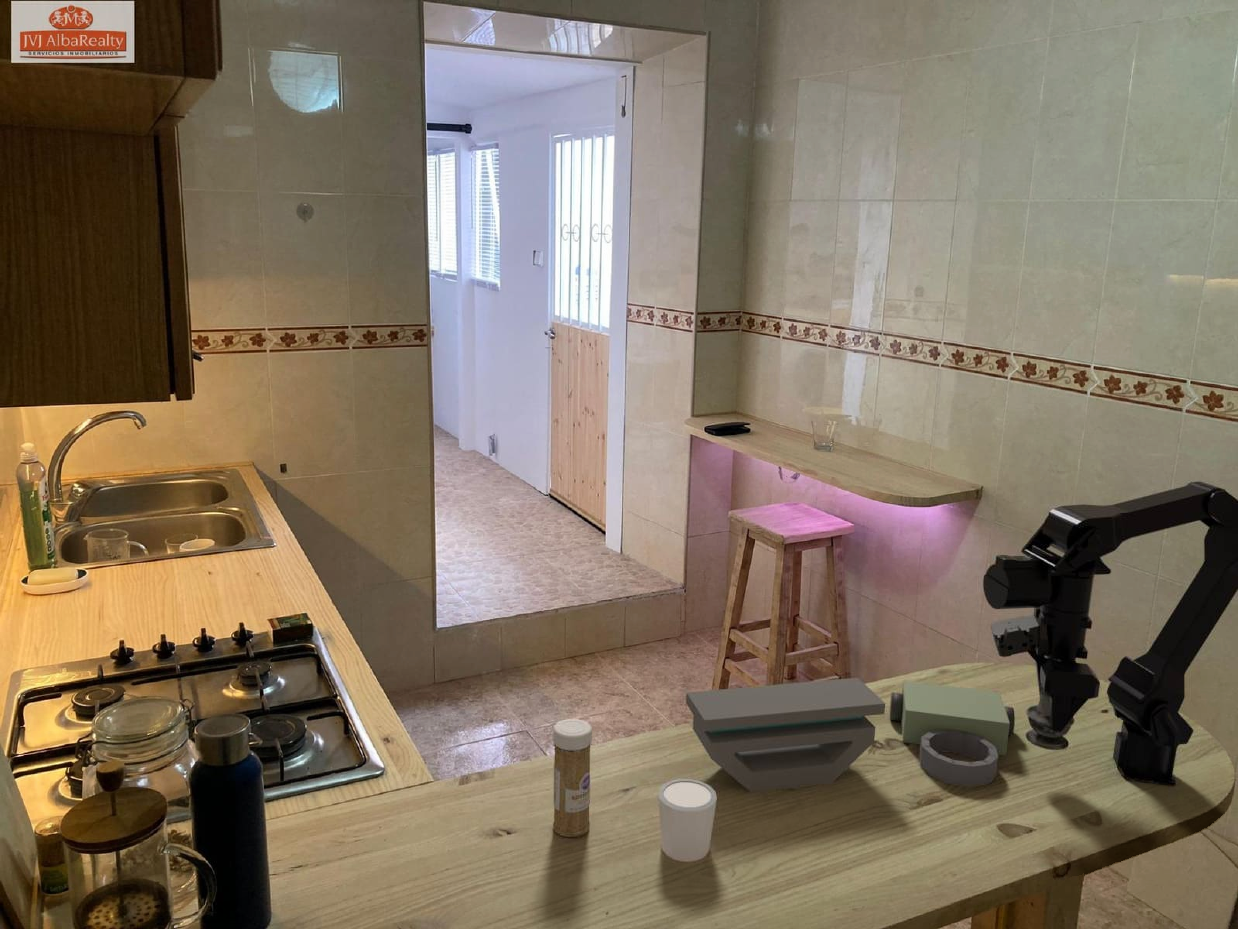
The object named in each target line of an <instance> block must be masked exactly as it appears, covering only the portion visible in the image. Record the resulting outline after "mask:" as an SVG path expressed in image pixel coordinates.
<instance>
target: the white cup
mask: <svg viewBox="0 0 1238 929" xmlns="http://www.w3.org/2000/svg"><path fill="white" fill-rule="evenodd" d="M657 793H658V794H657V795H658V808H659V809H658V810H659V811H658V812H659V826H660V827H659V828H660V829H659V830H660V840H661V842H660V843H661V850H662V851H663V853H664V854H665V855H666V856H667V857H668V858H670V859H672V860H675V861H679V862H683V863H684V862H688V863H689V862H693V863H694V862H696V861H700V860H701V859H703V858H705V857H706V856H707V855H708V853H709V851H710V844H711V839H712V833H713V825H714V818H715V813H716V808H717V799H718V797H717V793H716V790H714V789H713V787H712V786H711V785H709V784H707V783H705V782H703V781H701V780H697V779H691V778H677V779H674V780H669V781H667V782H666V783H664V784H661V786H660V788H659V789H658V791H657Z"/></svg>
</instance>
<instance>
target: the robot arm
mask: <svg viewBox="0 0 1238 929" xmlns="http://www.w3.org/2000/svg"><path fill="white" fill-rule="evenodd" d="M1198 521H1199V522H1201V524H1203V525H1205V527H1207V528H1208V529H1207V531H1206V534H1205V536H1204V539H1203V555H1204V556H1203V558H1204V559H1203V563H1202V565H1201V566H1200V568H1199V570H1198V571H1197V573H1196V574H1195V576H1194V578H1193V579H1192V581H1191V582H1190V584H1189V585H1188V587H1187V589H1186V590H1185V592H1184V594H1183V595H1182V597H1181V598H1180V600H1179V602H1178V603H1177V605H1176V606H1175V607H1174V609H1173V611H1172V613H1171V614H1170V616H1169V617H1168V618H1167V621H1166V622H1165V623H1164V625H1163V627H1162V629H1161V631H1160V632H1159V634H1158V635H1157V637H1156V638H1155V640H1154V642H1153V643H1152V645H1150V646H1151V647H1150V648H1149V649H1148V651H1147V652H1146V653H1144V654H1142V655H1141V656H1138V657H1137V658H1134V659H1132V658H1130V657H1129V656H1123V658H1122V659H1121V660H1119V663H1118V666H1117V667H1116V670H1115V671H1114V672H1113V673H1112V675H1111V676H1109V677H1108V678H1107V680H1108V681H1109V682H1110V683H1109V685H1108V687H1107V689H1106V690H1107V691H1106V695H1107V697H1108V702H1109V704H1110V705H1111V707H1112V708H1113V713H1114V716H1115V717H1116V718H1118V719H1120V720H1121V721H1122V723H1121V729H1120V731H1116V735H1115V741H1114V747H1113V748H1114V749H1113V754H1112V759H1113V761H1114V763H1115V765H1116V766H1117V768H1118V769H1119V771H1120V773H1121V775H1122V777H1123V778H1124V779H1127V780H1132V781H1140V782H1148V783H1155V784H1160V785H1161V784H1163V785H1168V786H1176V785H1177V779H1176V778H1175V776H1174V775H1173V774H1174V768H1175V761H1176V757H1177V750H1178V747H1179V746H1180V745H1187V744H1188V743H1189V741H1190V739H1191V737H1192V735H1193V733H1194V729H1193V727H1191V726H1192V725H1190V724H1189V723H1188V722H1187V720H1185V718H1184V717H1183V716H1182V715H1181V714H1180V713H1179V711H1180V709H1181V707H1182V704H1183V702H1184V700H1185V696H1186V695H1185V691H1186V690H1185V687H1186V686H1185V675H1186V672H1187V670H1188V669H1189V667H1190V666H1191V664H1192V663H1193V661H1194V660H1195V658H1196V656H1197V655H1198V653H1199V652H1200V651H1201V648H1202V647H1203V645H1204V643H1205V642H1206V641H1207V639H1208V638H1209V636H1210V634H1211V633H1212V631H1213V630H1214V628H1215V627H1216V625H1217V623H1218V622H1219V620H1220V618H1221V617H1222V615H1223V614H1224V613H1225V611H1226V609H1227V607H1228V606H1229V605H1230V603H1231V601H1232V600H1233V599H1234V597H1235V595H1236V594H1237V591H1238V499H1237V498H1236V497H1234V496H1233V495H1232V494H1230V493H1229V492H1228V491H1227V490H1226V489H1224V488H1221V487H1218V486H1215V485H1212V484H1209V483H1206V482H1203V481H1192V482H1189V483H1186V484H1185V486H1181V487H1178V488H1172V489H1169V490H1165V491H1161V492H1157V493H1153V494H1149V495H1145V496H1141V497H1138V498H1137V497H1136V498H1133V499H1130V500H1125V501H1121V502H1118V503H1114V504H1106V505H1096V504H1085V503H1084V504H1069V505H1061V506H1057V507H1055V508H1052V509H1051V510H1050V511H1049V512H1048V515H1047V516H1046V518H1045V519H1044V522H1043V523H1042V524H1041V525H1040V527H1039V528H1038V529H1037V530H1036V532H1035V533H1034V534H1033V535H1032V537H1031V538H1030V539H1029V540H1028V542H1026V544H1025V545H1024V546H1023V547H1022V549H1021V551H1020V552H1021V554H1023V555H1009V554H997V555H995V562H994V563H993V564H991V565H990V566H989V567H988V568H987V570H986V573H985V574H983V580H982V587H983V593H984V596H985V597H984V598H985V599H986V601H987V603H988V605H989V606H990V607H991V608H992V609H995V610H1008V609H1009V610H1010V609H1011V610H1012V609H1033V615H1032V614H1031V615H1025V616H1024V615H1023V616H1016V617H1012V618H1006V619H1001V620H997V621H993V622H991V623H990V625H989V626H990V630H991V634H992V636H993V641H994V643H995V647H996V649H997V653H998V656H999V657H1001V658H1006V657H1012V655H1019V654H1022V653H1023V654H1024V653H1028V654H1029V655H1030V657H1031V658H1032V659H1033V660H1034V662H1035V669H1036V676H1037V685H1038V687H1039V685H1041V687H1042V689H1043V691H1044V692H1045V693H1047V694H1048V695H1049V696H1050V710H1051V725H1052V730H1053V731H1057V732H1061V731H1062V730H1063V729H1064V728H1065V726H1066V725H1067V724H1068V723H1069V721H1070V720H1071V719H1072V718H1074V716H1075V715H1076V714H1077V713H1078V712H1079V710H1081V708H1082V707H1083V706H1084V705H1085V704H1086V702H1088V701H1089V700H1091V699H1095V698H1096V699H1097V698H1098V697H1099V695H1100V694H1099V693H1100V687H1101V682H1100V680H1099V678H1098V676H1097V674H1096V673H1095V671H1094V670H1093V669H1092V668H1091V666H1089V664H1087V663H1082V662H1077V661H1076V660H1077V659H1082V660H1087V659H1088V654H1089V651H1088V649H1087V647H1086V646H1085V643H1086V636H1087V630H1092V625H1093V621H1092V619H1091V618H1090V616H1089V614H1090V609H1091V602H1092V600H1091V599H1092V594H1093V593H1092V592H1093V586H1094V580H1095V579H1094V578H1095V576H1098V575H1101V576H1102V575H1110V574H1111V573H1112V569H1111V568H1109V567H1108V566H1107V564H1105V562H1103V560H1102V557H1104V556H1107V555H1109V554H1111V553H1114V552H1115V551H1116V550H1117V549H1118V548H1119V547H1120V545H1121V544H1123V543H1124V542H1125V541H1126V542H1127V541H1128V540H1131V539H1133V538H1137V537H1142V536H1145V535H1148V534H1152V533H1156V532H1160V531H1165V530H1167V529H1171V528H1176V527H1179V526H1183V525H1187V524H1191V523H1195V522H1198ZM1050 547H1051V548H1053V549H1055V550H1057V551H1058V552H1060V553H1063V555H1062V556H1061V555H1059V554H1058V553H1055V552H1053V551H1052V550H1050V549H1049V548H1050ZM1038 692H1039V696H1040V694H1041V690H1040V689H1039V688H1038Z"/></svg>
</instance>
